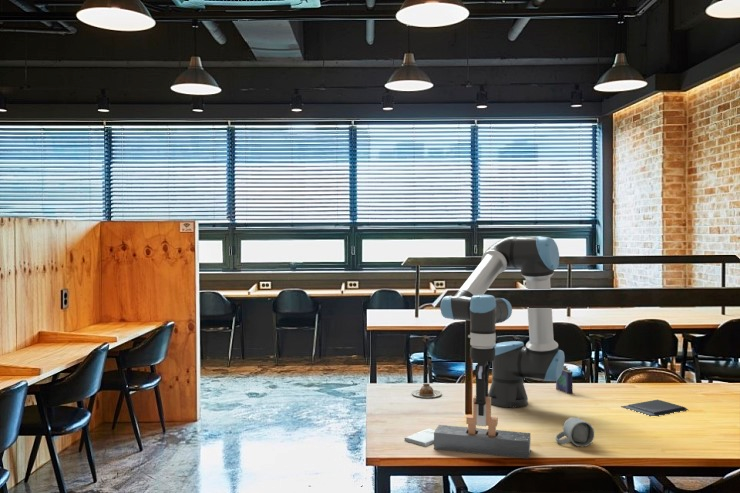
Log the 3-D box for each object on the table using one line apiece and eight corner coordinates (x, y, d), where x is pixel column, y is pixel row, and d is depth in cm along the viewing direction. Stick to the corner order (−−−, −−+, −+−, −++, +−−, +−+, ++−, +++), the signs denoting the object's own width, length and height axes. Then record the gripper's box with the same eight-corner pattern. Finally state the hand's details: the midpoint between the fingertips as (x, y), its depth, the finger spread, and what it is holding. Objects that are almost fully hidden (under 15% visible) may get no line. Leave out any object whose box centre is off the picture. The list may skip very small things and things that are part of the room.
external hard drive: (404, 442, 199) (427, 432, 209) (425, 448, 194) (448, 437, 203) (404, 437, 199) (427, 427, 209) (425, 442, 194) (448, 432, 203)
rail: (438, 440, 199) (438, 424, 199) (530, 449, 191) (530, 433, 191) (433, 448, 192) (433, 432, 191) (529, 458, 183) (529, 441, 183)
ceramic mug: (583, 437, 202) (583, 414, 202) (594, 446, 194) (594, 421, 193) (551, 439, 201) (551, 415, 201) (561, 448, 193) (561, 423, 193)
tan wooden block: (467, 434, 194) (467, 395, 194) (497, 436, 191) (497, 397, 191) (466, 437, 191) (466, 397, 191) (496, 439, 188) (496, 400, 188)
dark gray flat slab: (652, 413, 224) (619, 403, 238) (652, 419, 224) (619, 408, 238) (691, 407, 232) (656, 397, 246) (691, 412, 232) (656, 402, 246)
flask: (554, 388, 264) (554, 363, 263) (560, 388, 265) (560, 362, 264) (568, 394, 255) (569, 368, 255) (574, 393, 256) (575, 367, 256)
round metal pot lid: (441, 392, 259) (441, 381, 259) (441, 400, 248) (441, 388, 247) (412, 391, 261) (412, 380, 261) (410, 399, 249) (410, 387, 249)
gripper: (473, 341, 199) (473, 415, 200) (466, 350, 184) (465, 430, 184) (497, 342, 197) (497, 417, 198) (492, 352, 182) (491, 433, 182)
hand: (482, 423), depth 191 cm, fingers closed on tan wooden block, 3 cm apart
